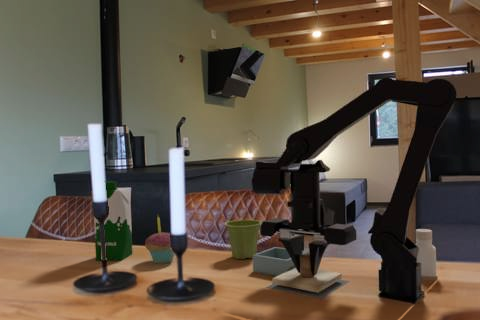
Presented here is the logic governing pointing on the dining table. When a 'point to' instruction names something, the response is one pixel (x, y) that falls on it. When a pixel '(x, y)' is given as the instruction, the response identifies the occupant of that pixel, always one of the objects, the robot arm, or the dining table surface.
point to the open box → (273, 261)
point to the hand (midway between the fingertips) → (307, 273)
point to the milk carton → (116, 224)
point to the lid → (307, 277)
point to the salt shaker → (426, 252)
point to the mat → (310, 293)
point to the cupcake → (159, 246)
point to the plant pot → (243, 237)
